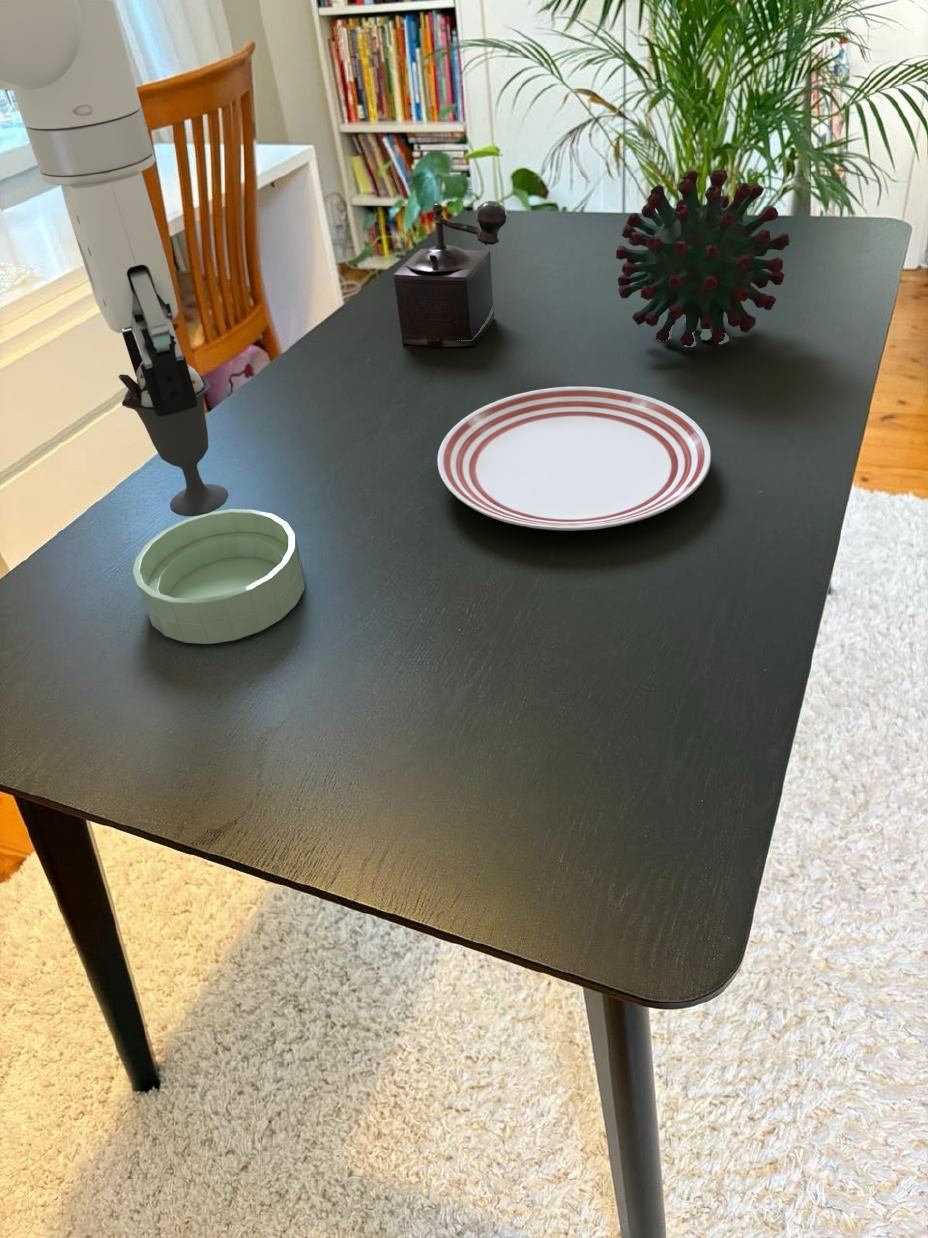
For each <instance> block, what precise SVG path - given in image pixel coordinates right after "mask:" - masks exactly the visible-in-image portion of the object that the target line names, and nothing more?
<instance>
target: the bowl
mask: <svg viewBox="0 0 928 1238" xmlns="http://www.w3.org/2000/svg"><path fill="white" fill-rule="evenodd" d="M302 562H303V561H302V558H301V554H300V550H299V545H298V541H297V537H296V534H295V532H294V531H293V529H292V527H291V526H290V525H289V523H288V521H285V520H283V519H282V518H280V517H279V516H277V515H275V514H273V513H270V512H266V511H261V510H257V509H248V508H247V509H246V508H229V509H223V510H215V511H212V512H210V513H207V514H204V515H199V516H191V517H189V518H188V517H187V518H186V519H183V520H181V521H179V522H177V523H175V524H173V525H171V526H169V527H167V528H165V529H163V530H162V531H160V532H159V533H158V534H157V535H155V536H154V537H152V538H151V539H150V540H149V541H148V542H146V543H145V545H144V546H143V548H142V549H141V550H140V551H139V553H138V555H136V557H135V560H134V564H133V570H132V575H133V577H134V578H133V579H134V581H135V582H136V586H137V588H138V591H139V593H140V597H141V599H142V602H143V604H144V608H145V610H146V613H147V616H148V618H149V620H150V623H151V625H152V627H153V628H154V629H156V630H157V631H158V632H160V633H161V634H162V635H163V636H164V637H166V638H170V639H173V640H176V641H178V642H182V643H186V644H201V645H212V644H220V643H226V642H233V641H237V640H240V639H242V638H245V637H246V638H247V637H248V636H251V635H254V634H257V633H260V632H262V631H265V630H266V629H267V628H269V627H270V626H272V625H274V624H275V623H278V622H279V621H281V620H282V619H283V618H284V617H285V616H286V615H288V613H290V612H291V611H292V609H294V608H295V607H296V605H298V603H299V600H300V598H301V596H302V595H303V592H304V591H305V588H306V587H305V571H304V567H303V563H302Z"/></svg>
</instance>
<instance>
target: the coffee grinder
mask: <svg viewBox="0 0 928 1238" xmlns="http://www.w3.org/2000/svg"><path fill="white" fill-rule="evenodd" d="M443 210H444V207H443V205H442V204H440V203H435V204H434V205H433V206H432V211H433V213H434V214H433V216H432V222H433V223H435V231H436V244H435V245H434V246H431V247H430V248H420V249H418V250H417V251H416V252H415V253H414V254H413V255H412V256H411V257H410V258H408V259H407V260H406V261H405V263H403V264H402V265H401V266H400V267H399V268H398V269H397V270H396V271H395V272H394V273H393V282H394V288H395V289H394V290H395V296H396V297H395V298H396V305H397V313H398V320H399V327H400V334H401V344H402V345H408V346H423V347H433V348H434V347H435V348H442V347H449V348H450V347H451V348H455V347H457V348H460V347H462V348H463V347H473V346H475V345H476V344H477V343H479V342H480V341H481V340H482V339H483V337H484V336H485V334H486V333H487V332H488V330H489V329H490V328H491V326H492V324H493V321H494V319H495V311H494V312H493V314H492V316H491V318H490V320H489V321H488V323H487V324H486V325H485V327H484V328H483V329H482V331H481V332H480V333H479V334H478V335H477V336H476V337H475V338H474V336H475V335H476V334H477V333H478V331H479V330H480V328H481V326H482V325H483V324H484V323H485V321H486V319H487V317H488V316H489V313H490V311H491V308H492V306H493V307H494V299H493V279H492V261H491V259H492V258H491V251H490V250H477V249H476V250H475V249H462V248H461V247H458V246H455V245H451V244H446V242H445V237H444V226H445V227H447V228H449V229H452V230H455V231H456V230H457V231H460V232H465V233H466V232H467V233H469V234H473V235H476V239H477V241H478V242H480V243H482V244H484V245H485V247H486V246H488V245H491V246H493V245H496V244H498V243H499V242H500V237H499V231H500V229H501V228H502V227H504V226H505V224H506V222H507V216H508V215H507V210H506V208H505V207H504V205H502V204H500V203H499V202H497V201H494V200H487V201H484V202H483V203H481V204H479V206H478V207H477V208H476V210H475V219H476V220H477V223H478V224H479V227H477V226H474V225H470V224H468V223H467V224H466V223H462V222H459V221H453V220H450V219H448V218H445V215H444V214H443V212H444V211H443ZM473 338H474V339H473ZM472 339H473V340H472ZM457 340H458V341H457ZM459 340H460V341H459ZM461 340H472V341H461Z"/></svg>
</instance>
